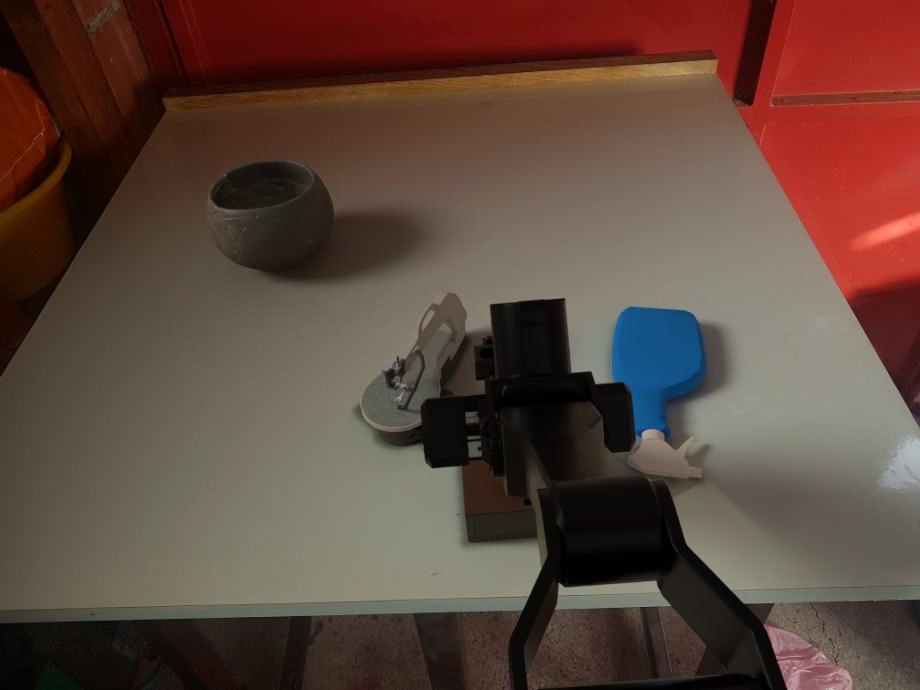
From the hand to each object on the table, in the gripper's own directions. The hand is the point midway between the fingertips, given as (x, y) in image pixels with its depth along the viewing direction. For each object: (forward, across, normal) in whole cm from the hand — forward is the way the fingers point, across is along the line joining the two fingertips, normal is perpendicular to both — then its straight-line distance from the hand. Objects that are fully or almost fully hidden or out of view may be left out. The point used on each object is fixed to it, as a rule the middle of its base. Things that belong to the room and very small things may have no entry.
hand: (520, 417), depth 71 cm
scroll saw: (+13, +10, -3) cm, 17 cm away
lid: (-2, 0, +5) cm, 5 cm away
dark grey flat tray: (+2, 0, +8) cm, 8 cm away
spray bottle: (+10, -17, 0) cm, 20 cm away
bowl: (+35, +32, -25) cm, 53 cm away
